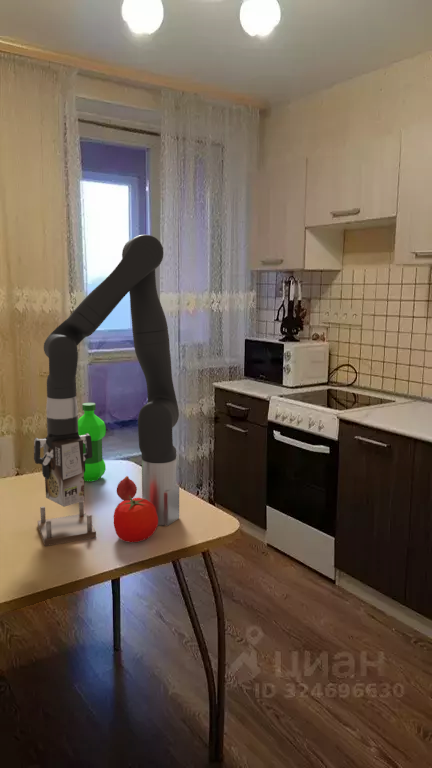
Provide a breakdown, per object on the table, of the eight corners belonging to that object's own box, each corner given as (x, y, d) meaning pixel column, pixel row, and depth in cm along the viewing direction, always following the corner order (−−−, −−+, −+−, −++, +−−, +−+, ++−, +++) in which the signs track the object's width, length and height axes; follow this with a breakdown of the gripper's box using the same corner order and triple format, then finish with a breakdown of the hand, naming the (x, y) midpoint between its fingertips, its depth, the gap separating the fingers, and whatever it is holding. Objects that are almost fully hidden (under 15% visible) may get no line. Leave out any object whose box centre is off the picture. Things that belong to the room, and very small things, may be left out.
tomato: (129, 525, 153) (128, 488, 151) (167, 533, 148) (166, 495, 146) (102, 543, 142) (101, 504, 140) (141, 553, 137) (141, 512, 136)
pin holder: (96, 537, 145) (95, 516, 144) (44, 546, 140) (43, 524, 139) (85, 518, 157) (85, 499, 156) (37, 526, 152) (36, 506, 151)
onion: (113, 503, 167) (112, 477, 166) (123, 497, 173) (122, 471, 171) (130, 506, 165) (130, 480, 164) (140, 500, 170) (140, 474, 169)
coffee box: (85, 500, 146) (84, 439, 143) (63, 507, 142) (61, 444, 139) (66, 491, 153) (64, 432, 150) (44, 497, 148) (42, 437, 145)
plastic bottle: (75, 485, 182) (72, 408, 178) (75, 474, 192) (72, 401, 188) (107, 483, 184) (105, 406, 180) (105, 472, 194) (104, 400, 190)
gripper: (87, 408, 149) (89, 468, 152) (30, 412, 144) (33, 475, 147) (94, 415, 143) (95, 477, 146) (34, 419, 137) (36, 484, 140)
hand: (64, 476), depth 146 cm, fingers closed on coffee box, 8 cm apart
